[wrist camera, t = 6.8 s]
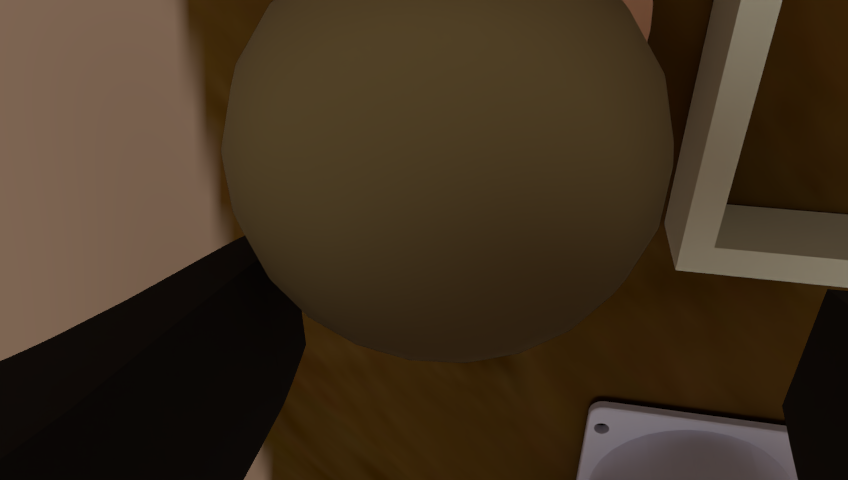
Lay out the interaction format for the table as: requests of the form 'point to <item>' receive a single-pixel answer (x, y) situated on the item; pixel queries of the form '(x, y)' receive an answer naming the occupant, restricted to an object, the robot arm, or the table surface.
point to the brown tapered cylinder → (448, 166)
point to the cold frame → (716, 164)
